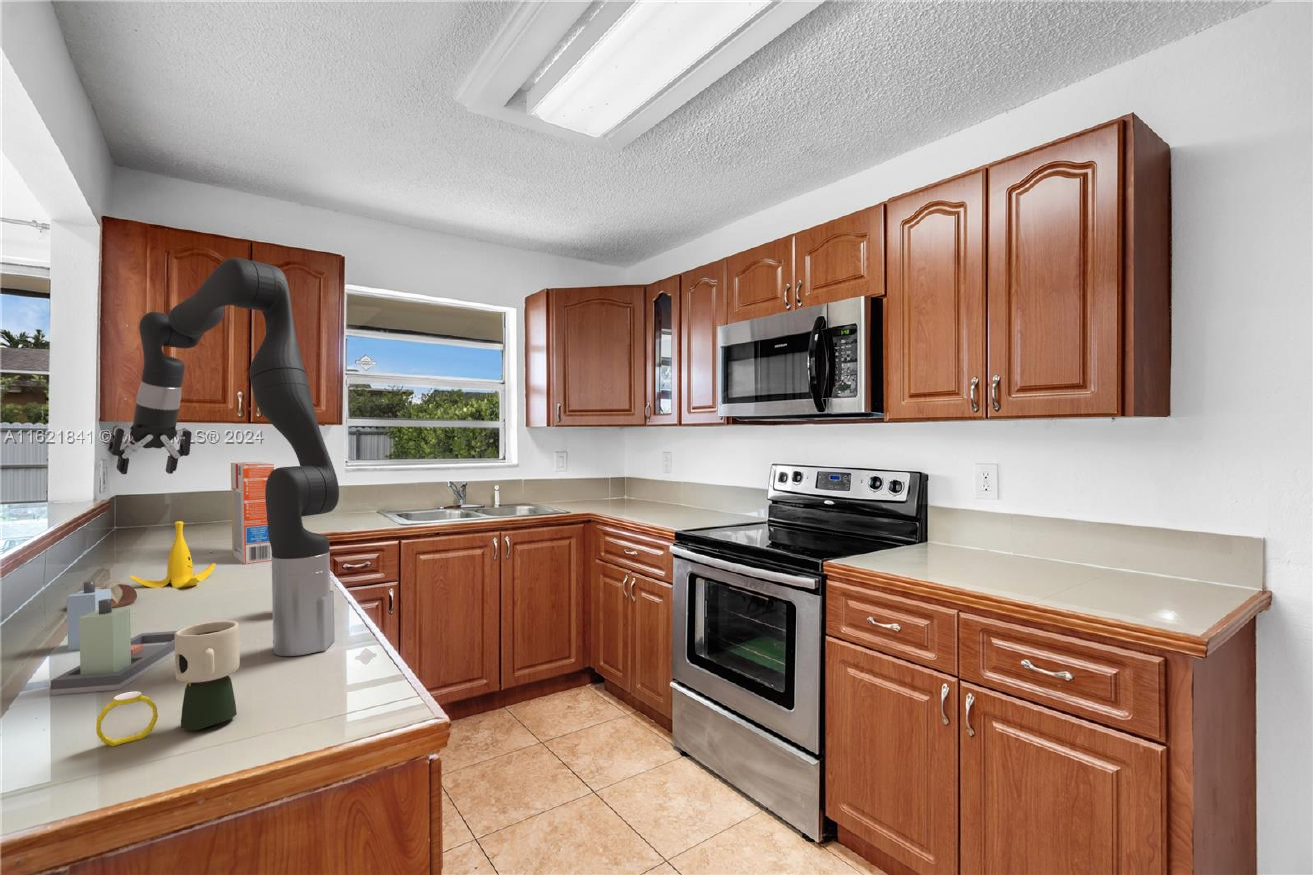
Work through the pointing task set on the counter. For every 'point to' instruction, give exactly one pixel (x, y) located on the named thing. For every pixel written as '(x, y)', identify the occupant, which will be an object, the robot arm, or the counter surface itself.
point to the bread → (120, 594)
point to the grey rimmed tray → (144, 657)
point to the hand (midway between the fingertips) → (146, 472)
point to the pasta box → (250, 512)
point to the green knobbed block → (105, 639)
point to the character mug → (207, 672)
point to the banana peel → (178, 566)
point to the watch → (122, 700)
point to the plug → (82, 609)
